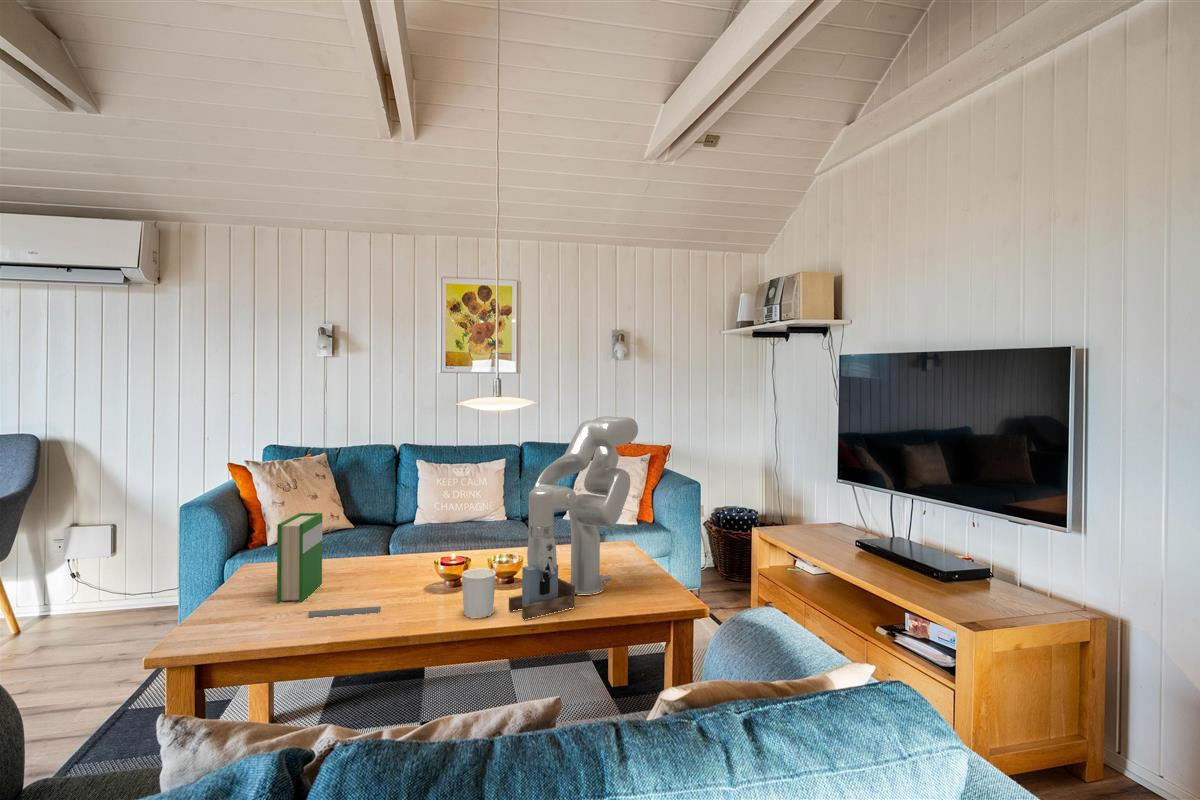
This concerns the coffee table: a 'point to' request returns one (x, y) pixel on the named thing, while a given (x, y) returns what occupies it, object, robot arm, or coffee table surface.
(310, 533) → the hardback book
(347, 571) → the coffee table surface
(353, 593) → the coffee table surface
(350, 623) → the coffee table surface
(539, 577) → the slate-blue book
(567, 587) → the book rack
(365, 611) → the gray half cylinder
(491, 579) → the grey cylinder
